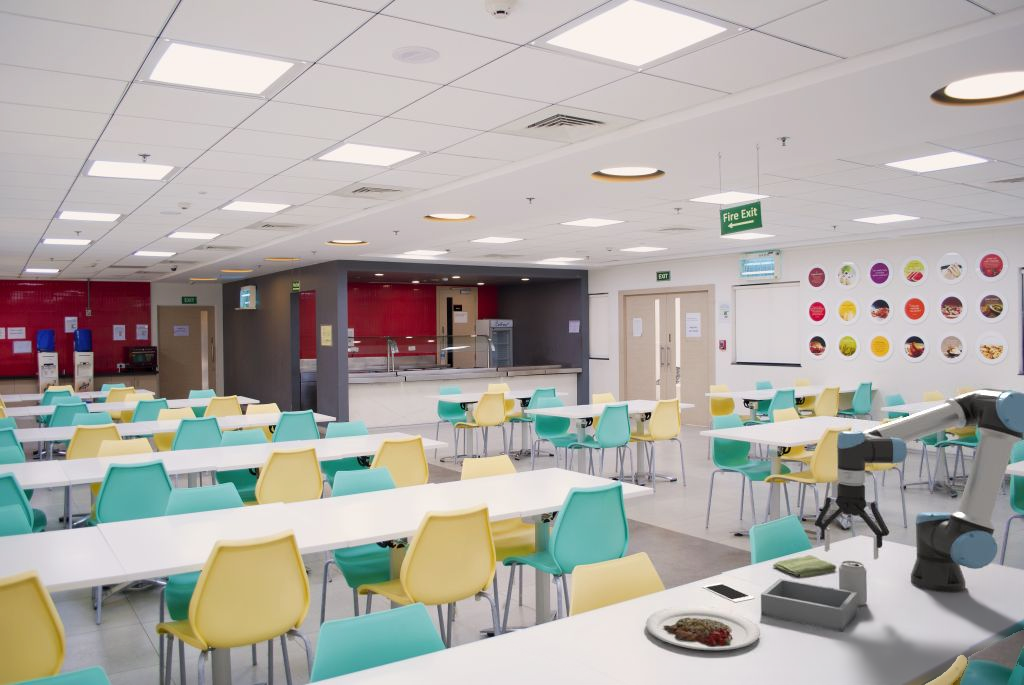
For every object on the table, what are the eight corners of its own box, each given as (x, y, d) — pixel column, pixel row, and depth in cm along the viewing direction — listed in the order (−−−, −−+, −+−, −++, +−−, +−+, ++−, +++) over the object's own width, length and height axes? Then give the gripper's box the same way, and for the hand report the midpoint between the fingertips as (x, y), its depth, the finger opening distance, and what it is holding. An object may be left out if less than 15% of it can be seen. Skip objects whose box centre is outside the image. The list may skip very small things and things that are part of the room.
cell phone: (735, 603, 225) (735, 601, 225) (700, 588, 240) (700, 586, 240) (755, 599, 228) (755, 597, 228) (720, 584, 243) (720, 582, 243)
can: (869, 608, 219) (869, 567, 219) (842, 606, 220) (841, 566, 220) (863, 599, 226) (862, 559, 226) (836, 598, 227) (836, 558, 227)
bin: (857, 613, 215) (857, 592, 215) (842, 632, 201) (842, 610, 201) (780, 598, 228) (779, 578, 228) (761, 615, 215) (760, 594, 215)
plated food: (684, 605, 224) (684, 593, 224) (780, 631, 203) (780, 619, 203) (624, 633, 203) (623, 621, 203) (723, 667, 182) (723, 653, 182)
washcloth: (770, 568, 259) (770, 559, 259) (811, 562, 265) (811, 553, 265) (797, 579, 246) (797, 570, 246) (839, 572, 253) (839, 563, 253)
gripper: (804, 480, 227) (804, 550, 227) (894, 490, 212) (894, 564, 212) (811, 476, 233) (811, 544, 233) (899, 486, 218) (899, 558, 218)
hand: (851, 554), depth 223 cm, fingers open, 13 cm apart
